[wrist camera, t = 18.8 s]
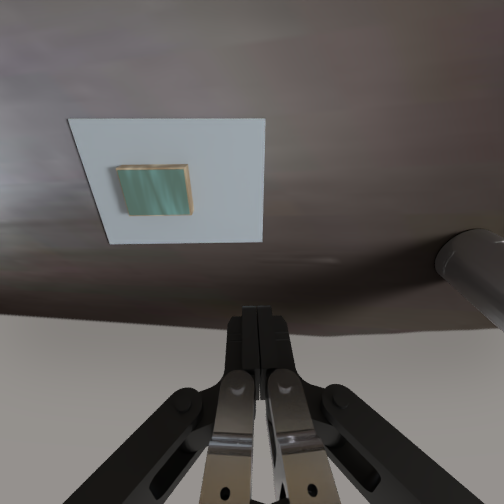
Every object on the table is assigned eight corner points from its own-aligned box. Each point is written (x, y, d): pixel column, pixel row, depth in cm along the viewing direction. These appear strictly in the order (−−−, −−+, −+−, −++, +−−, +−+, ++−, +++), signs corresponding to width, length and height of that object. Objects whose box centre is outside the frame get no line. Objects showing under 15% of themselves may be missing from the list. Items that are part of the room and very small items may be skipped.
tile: (184, 167, 29) (114, 168, 29) (191, 216, 32) (128, 216, 32) (188, 163, 31) (122, 164, 31) (194, 210, 34) (134, 210, 34)
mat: (265, 118, 29) (265, 118, 28) (262, 240, 37) (262, 242, 37) (69, 118, 28) (67, 118, 28) (111, 242, 37) (109, 244, 36)
